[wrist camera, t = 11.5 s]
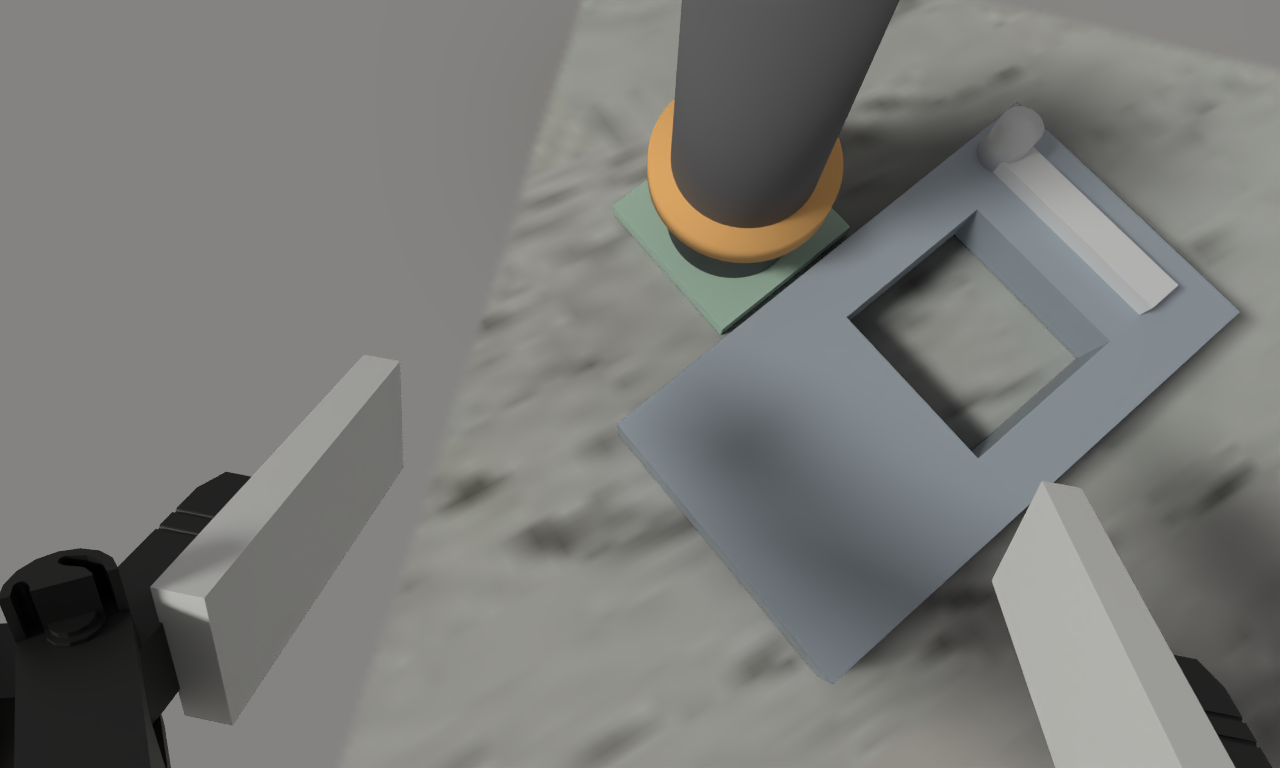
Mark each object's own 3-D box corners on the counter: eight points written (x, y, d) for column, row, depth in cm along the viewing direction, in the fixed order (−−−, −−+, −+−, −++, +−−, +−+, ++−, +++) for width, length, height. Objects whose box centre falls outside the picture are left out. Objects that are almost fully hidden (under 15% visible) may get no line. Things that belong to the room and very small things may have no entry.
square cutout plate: (1198, 330, 28) (1283, 292, 24) (817, 675, 25) (847, 693, 21) (992, 133, 30) (1042, 69, 26) (618, 435, 27) (614, 412, 23)
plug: (850, 227, 28) (1023, -62, 15) (722, 330, 27) (795, 112, 14) (738, 112, 29) (814, -247, 16) (612, 206, 28) (590, -97, 16)
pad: (846, 233, 29) (850, 226, 28) (720, 334, 28) (722, 329, 27) (737, 119, 30) (739, 110, 29) (613, 213, 29) (612, 205, 28)
